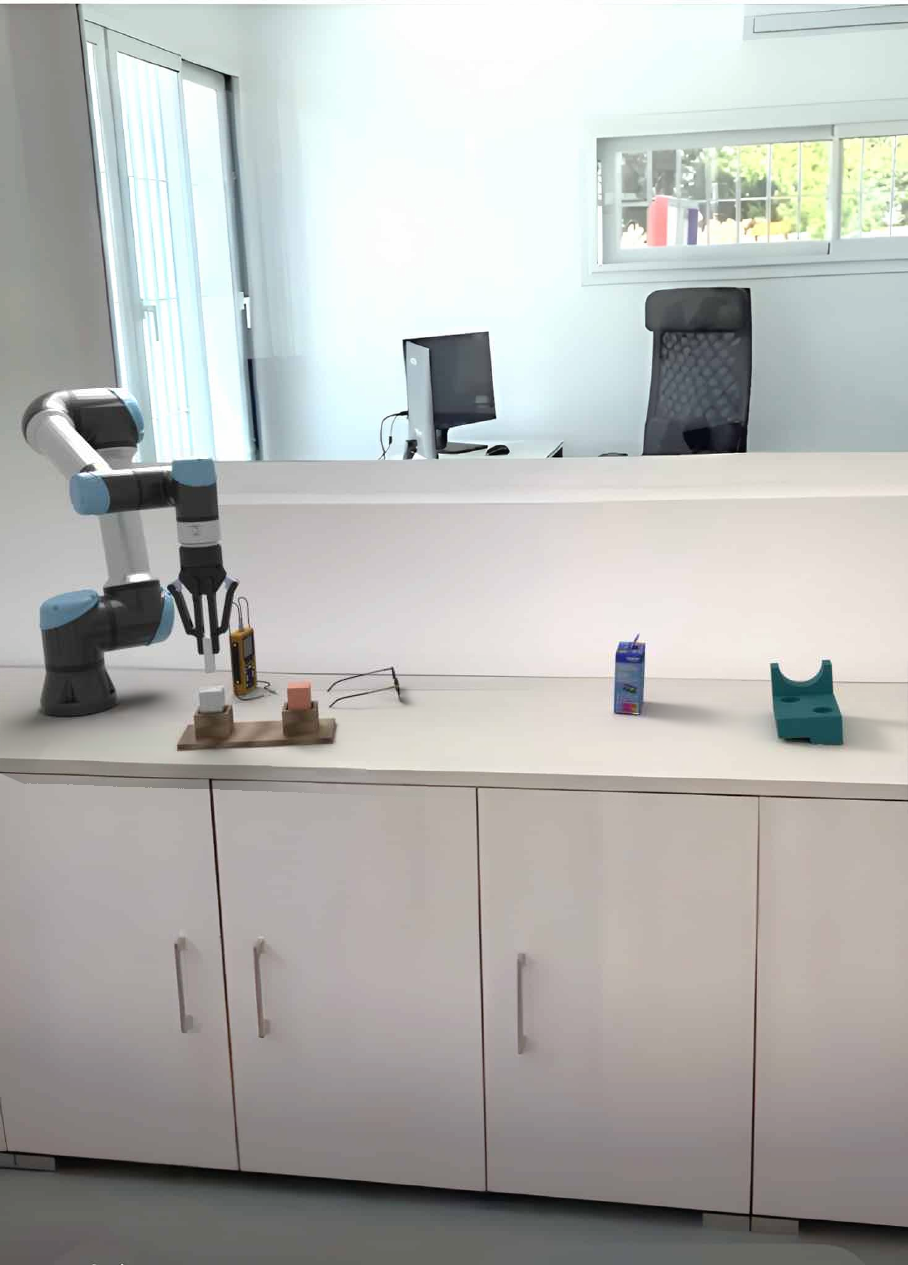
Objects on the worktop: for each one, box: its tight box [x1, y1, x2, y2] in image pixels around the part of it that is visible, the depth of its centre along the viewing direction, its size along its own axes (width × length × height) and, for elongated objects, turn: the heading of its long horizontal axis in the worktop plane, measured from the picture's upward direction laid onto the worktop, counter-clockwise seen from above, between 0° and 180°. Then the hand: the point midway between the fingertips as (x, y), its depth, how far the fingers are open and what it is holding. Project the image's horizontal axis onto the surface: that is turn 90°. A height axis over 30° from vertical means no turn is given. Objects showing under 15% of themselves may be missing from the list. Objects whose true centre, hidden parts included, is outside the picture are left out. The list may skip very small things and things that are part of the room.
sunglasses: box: [326, 666, 401, 708], centre depth 239 cm, size 14×15×5 cm
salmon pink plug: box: [286, 681, 312, 710], centre depth 215 cm, size 4×4×5 cm
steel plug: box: [198, 685, 226, 714], centre depth 214 cm, size 4×4×5 cm
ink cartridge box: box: [613, 633, 646, 714], centre depth 225 cm, size 10×6×14 cm, turn 167°
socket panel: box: [176, 699, 336, 751], centre depth 216 cm, size 28×12×6 cm, turn 93°
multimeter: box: [228, 596, 280, 701], centre depth 244 cm, size 15×10×20 cm
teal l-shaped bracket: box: [769, 659, 844, 745], centre depth 210 cm, size 18×11×10 cm, turn 168°
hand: (210, 671), depth 213 cm, fingers closed
